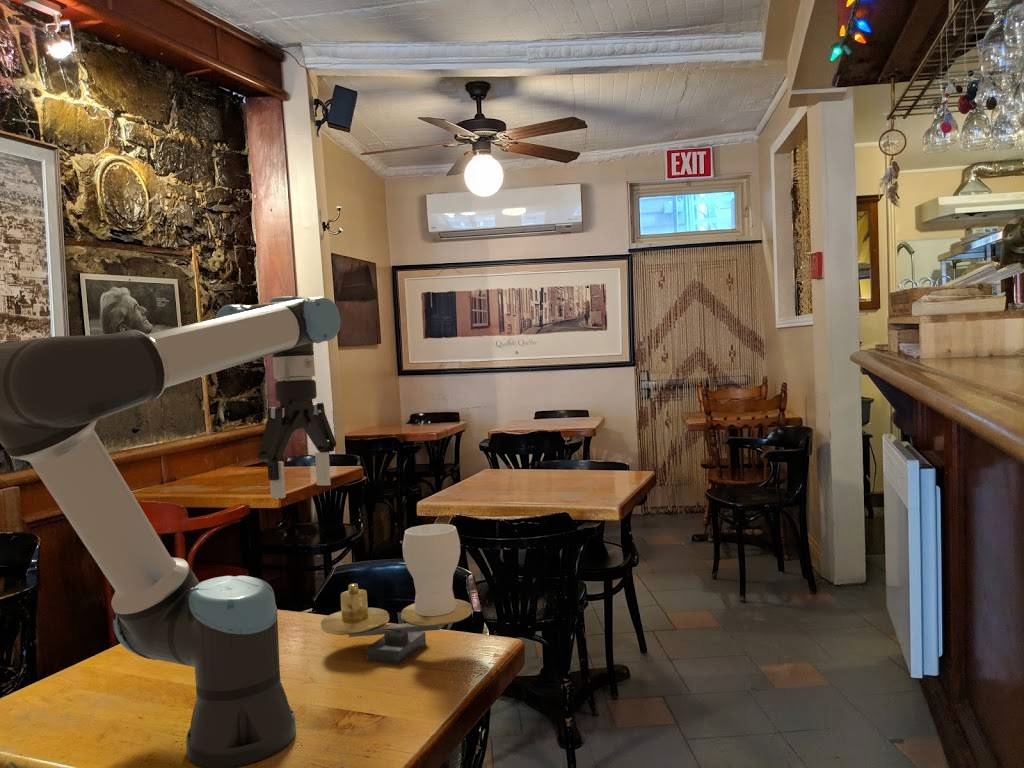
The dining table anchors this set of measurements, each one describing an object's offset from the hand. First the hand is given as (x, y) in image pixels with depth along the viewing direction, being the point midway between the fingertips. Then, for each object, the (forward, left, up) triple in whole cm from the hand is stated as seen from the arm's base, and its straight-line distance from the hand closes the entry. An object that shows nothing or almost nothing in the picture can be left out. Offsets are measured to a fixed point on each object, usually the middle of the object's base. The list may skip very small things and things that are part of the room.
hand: (302, 491), depth 139 cm
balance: (+6, -15, -32) cm, 36 cm away
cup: (+6, -24, -23) cm, 34 cm away
